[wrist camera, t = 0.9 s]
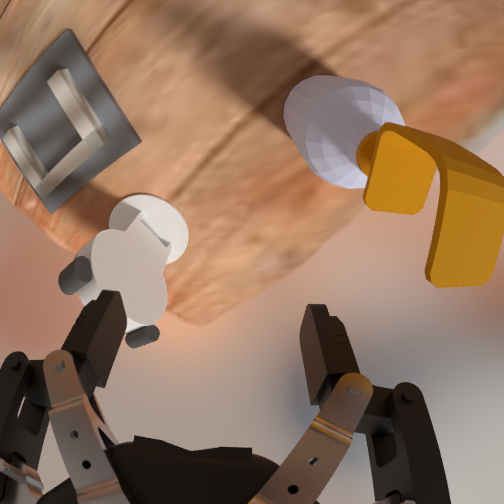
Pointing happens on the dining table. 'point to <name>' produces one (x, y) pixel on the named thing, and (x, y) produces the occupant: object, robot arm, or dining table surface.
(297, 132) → the soap bottle
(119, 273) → the panda figurine
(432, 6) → the dining table surface
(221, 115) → the dining table surface
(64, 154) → the u rest
